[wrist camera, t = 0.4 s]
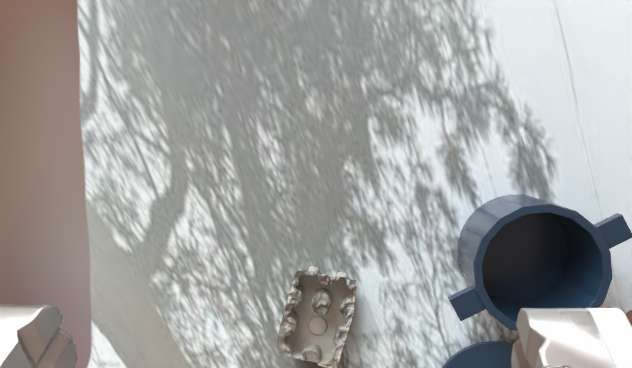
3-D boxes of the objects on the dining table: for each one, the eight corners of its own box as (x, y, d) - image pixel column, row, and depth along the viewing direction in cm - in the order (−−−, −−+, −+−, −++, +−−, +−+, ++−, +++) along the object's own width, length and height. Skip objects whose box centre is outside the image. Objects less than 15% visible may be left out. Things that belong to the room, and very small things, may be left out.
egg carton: (338, 361, 64) (337, 377, 60) (277, 344, 64) (271, 358, 60) (362, 276, 63) (362, 285, 59) (299, 258, 63) (295, 267, 59)
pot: (616, 263, 60) (662, 286, 51) (468, 334, 62) (486, 369, 53) (563, 163, 60) (600, 167, 50) (416, 238, 62) (425, 256, 52)
